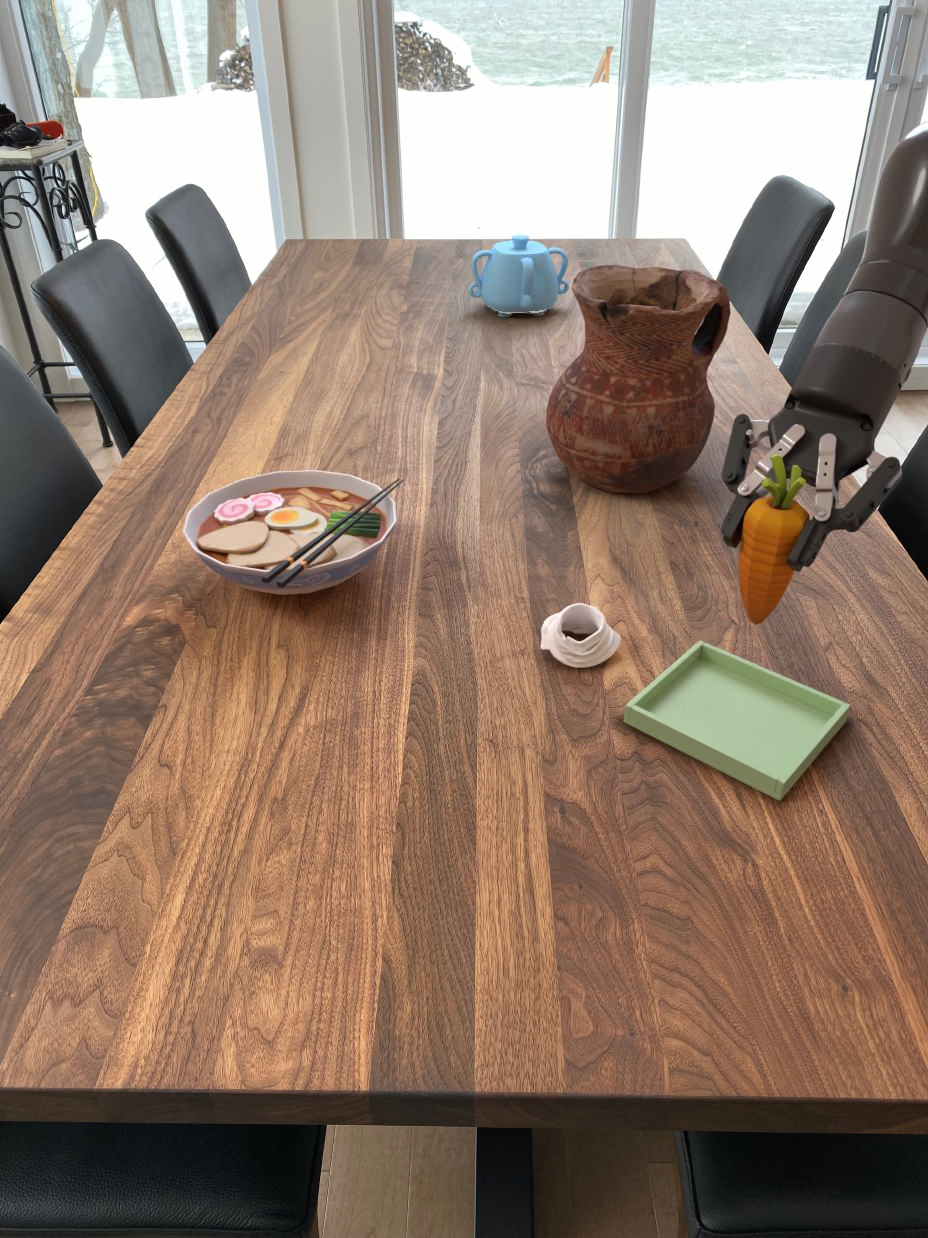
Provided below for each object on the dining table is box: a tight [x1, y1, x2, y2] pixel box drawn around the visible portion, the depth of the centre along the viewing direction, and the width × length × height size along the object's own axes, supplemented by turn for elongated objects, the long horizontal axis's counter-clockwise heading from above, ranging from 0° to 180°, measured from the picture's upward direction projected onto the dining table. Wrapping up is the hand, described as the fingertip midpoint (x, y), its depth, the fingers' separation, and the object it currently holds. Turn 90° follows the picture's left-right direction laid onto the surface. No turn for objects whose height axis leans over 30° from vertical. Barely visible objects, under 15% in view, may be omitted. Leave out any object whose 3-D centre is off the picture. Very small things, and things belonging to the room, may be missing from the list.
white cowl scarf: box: [540, 602, 622, 668], centre depth 96 cm, size 8×7×5 cm
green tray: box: [622, 639, 851, 802], centre depth 87 cm, size 15×13×2 cm
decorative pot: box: [468, 234, 570, 318], centre depth 186 cm, size 16×16×14 cm
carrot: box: [738, 454, 811, 626], centre depth 78 cm, size 5×5×15 cm
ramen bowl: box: [181, 469, 404, 596], centre depth 106 cm, size 25×23×8 cm
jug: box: [545, 264, 731, 495], centre depth 123 cm, size 22×21×25 cm
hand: (761, 554), depth 77 cm, fingers closed on carrot, 5 cm apart
